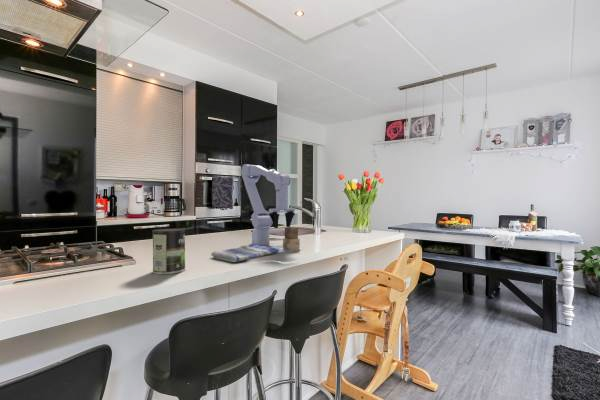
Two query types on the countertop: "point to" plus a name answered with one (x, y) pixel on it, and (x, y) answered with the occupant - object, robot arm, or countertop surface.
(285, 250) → the board
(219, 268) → the countertop surface
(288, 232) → the walnut block
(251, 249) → the dish towel
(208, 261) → the countertop surface
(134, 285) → the countertop surface
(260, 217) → the robot arm
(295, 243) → the oak base block
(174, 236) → the coffee can
